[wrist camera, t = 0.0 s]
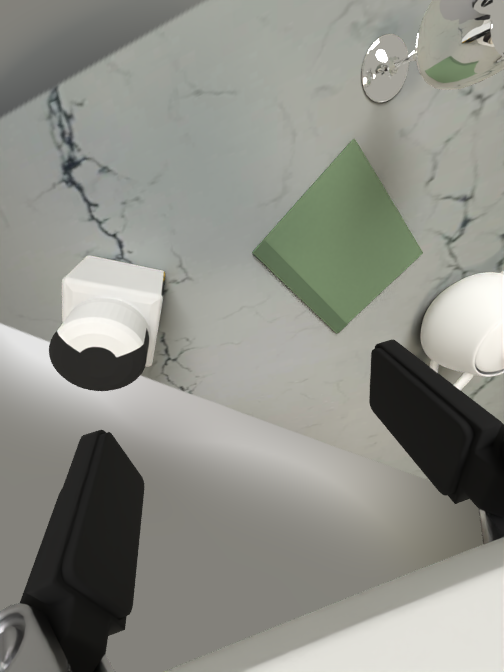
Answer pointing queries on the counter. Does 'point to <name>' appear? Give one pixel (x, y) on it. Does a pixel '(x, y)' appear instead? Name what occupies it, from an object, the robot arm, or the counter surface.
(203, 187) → the counter surface
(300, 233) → the napkin
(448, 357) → the teapot
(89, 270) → the medicine bottle
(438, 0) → the wineglass
